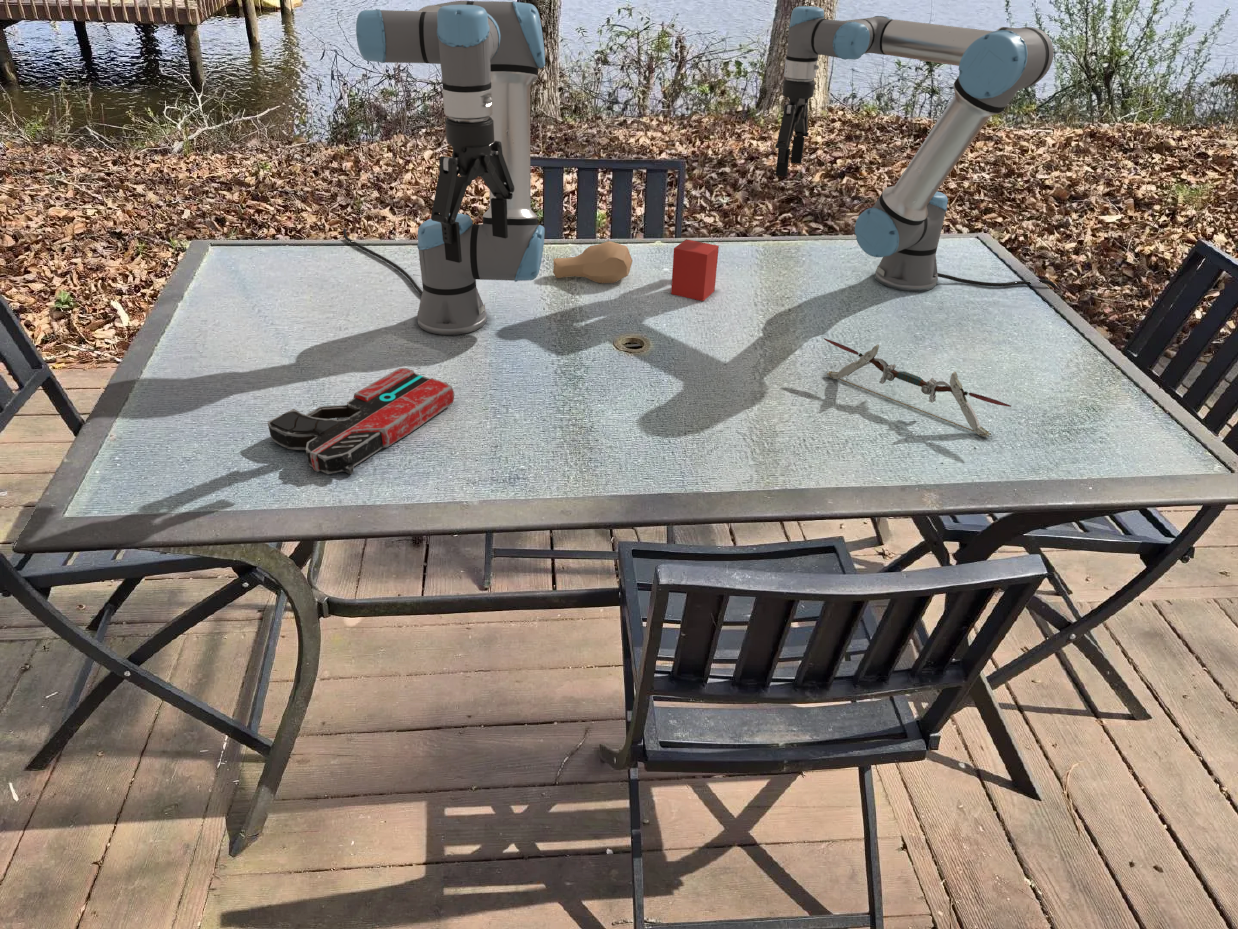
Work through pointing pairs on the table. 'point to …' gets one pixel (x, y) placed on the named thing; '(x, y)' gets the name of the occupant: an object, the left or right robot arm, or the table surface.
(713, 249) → the brick
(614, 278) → the squash
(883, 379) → the bow
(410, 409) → the gun
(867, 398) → the table surface
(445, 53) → the left robot arm
